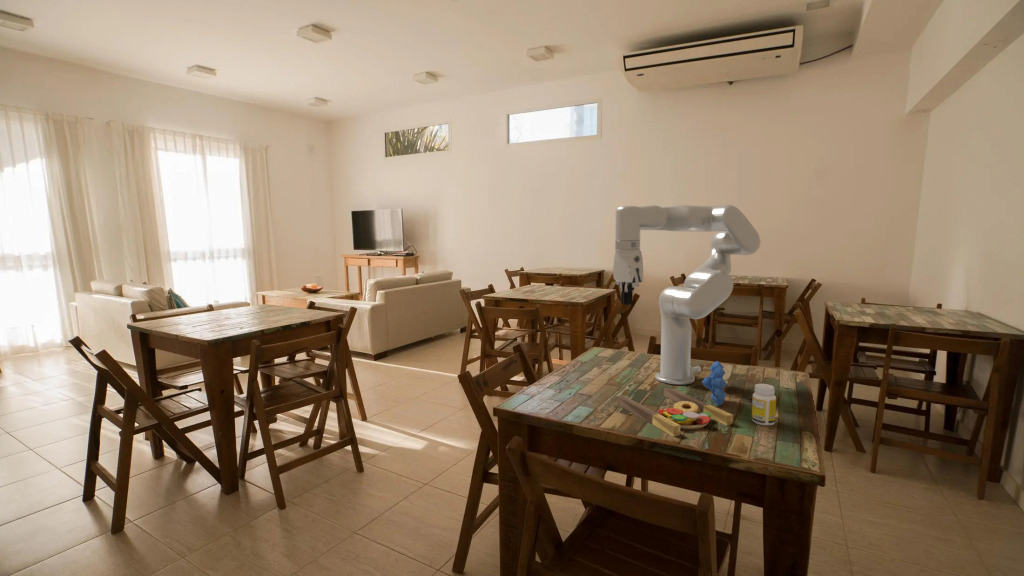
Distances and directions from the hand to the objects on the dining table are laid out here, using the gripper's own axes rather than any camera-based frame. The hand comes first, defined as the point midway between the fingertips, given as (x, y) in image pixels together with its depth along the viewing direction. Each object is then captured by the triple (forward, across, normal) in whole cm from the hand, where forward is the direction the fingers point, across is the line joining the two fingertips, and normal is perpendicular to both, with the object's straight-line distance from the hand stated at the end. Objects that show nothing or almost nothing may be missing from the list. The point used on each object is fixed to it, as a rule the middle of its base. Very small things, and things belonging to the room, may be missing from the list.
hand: (626, 304), depth 149 cm
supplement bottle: (+27, -38, -16) cm, 49 cm away
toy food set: (+28, -29, +2) cm, 40 cm away
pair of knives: (+27, -24, +2) cm, 36 cm away
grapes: (+27, -22, -15) cm, 38 cm away
